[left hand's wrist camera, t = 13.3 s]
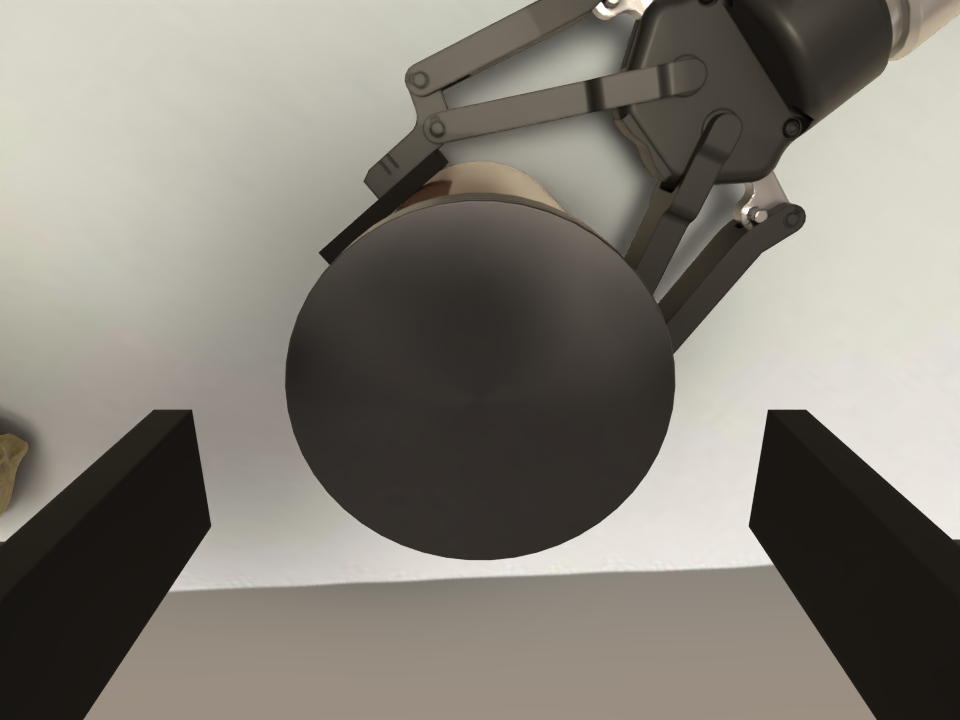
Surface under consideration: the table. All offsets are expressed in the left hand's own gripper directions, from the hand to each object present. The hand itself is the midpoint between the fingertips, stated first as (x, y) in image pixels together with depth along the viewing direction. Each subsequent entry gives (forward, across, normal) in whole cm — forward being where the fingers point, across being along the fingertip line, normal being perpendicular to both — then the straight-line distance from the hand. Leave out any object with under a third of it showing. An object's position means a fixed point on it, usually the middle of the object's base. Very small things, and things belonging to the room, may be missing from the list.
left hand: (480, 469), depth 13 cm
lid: (+4, 0, 0) cm, 4 cm away
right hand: (+17, -3, -3) cm, 18 cm away
